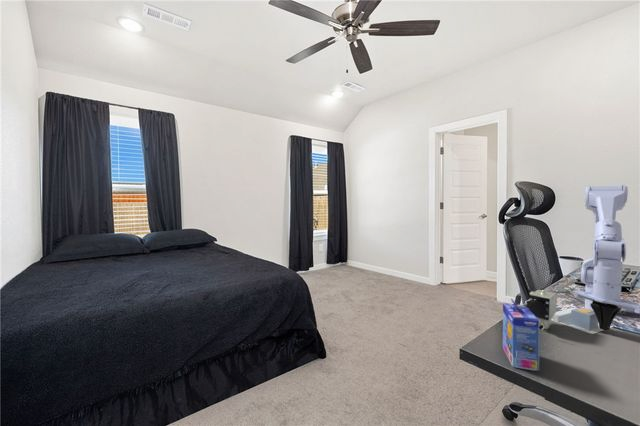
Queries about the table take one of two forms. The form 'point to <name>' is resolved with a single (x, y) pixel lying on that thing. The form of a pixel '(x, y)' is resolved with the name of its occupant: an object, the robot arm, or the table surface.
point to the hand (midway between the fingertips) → (604, 328)
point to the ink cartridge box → (521, 336)
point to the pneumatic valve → (543, 306)
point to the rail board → (565, 319)
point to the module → (584, 318)
